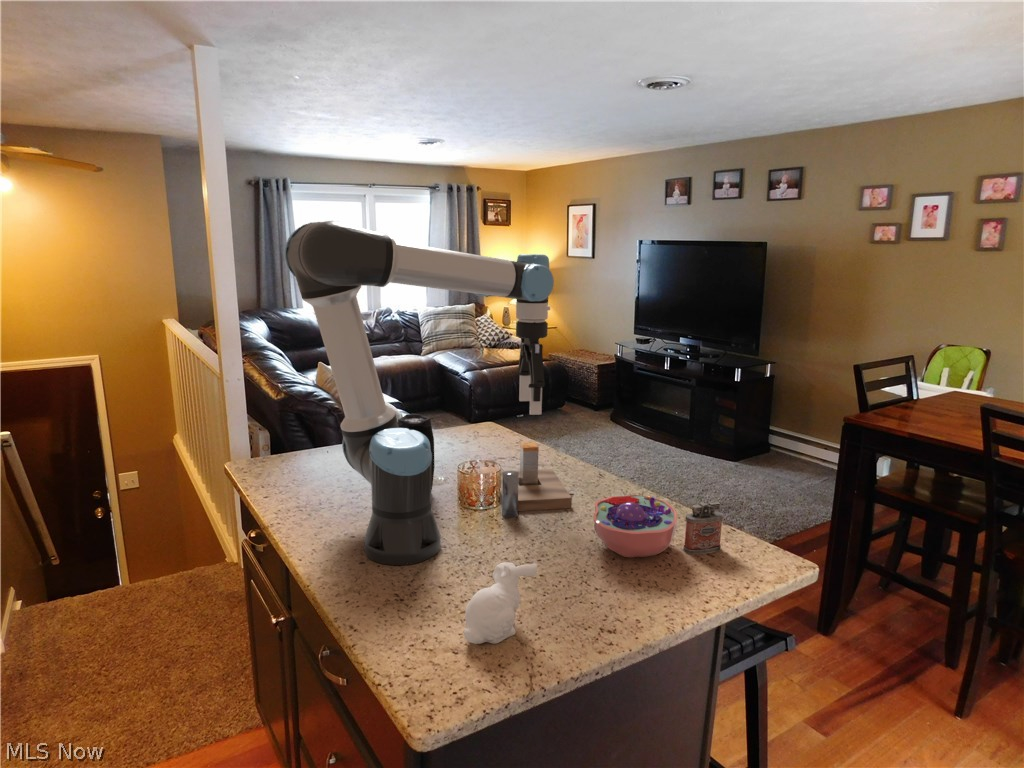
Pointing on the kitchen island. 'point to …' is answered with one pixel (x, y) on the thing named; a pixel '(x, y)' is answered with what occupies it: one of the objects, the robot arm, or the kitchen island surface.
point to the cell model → (635, 524)
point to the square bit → (528, 464)
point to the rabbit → (496, 605)
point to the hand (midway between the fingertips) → (529, 407)
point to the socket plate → (542, 493)
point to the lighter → (703, 529)
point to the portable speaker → (423, 426)
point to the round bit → (510, 494)
